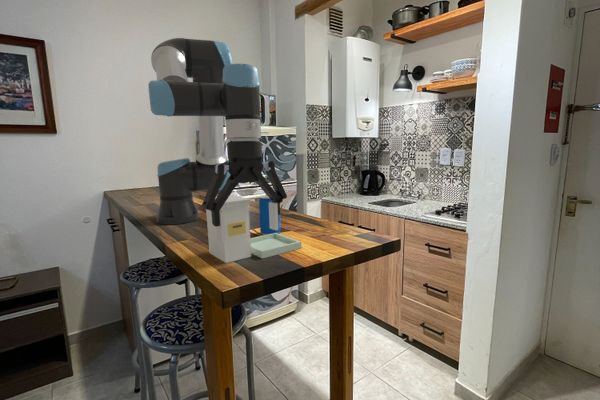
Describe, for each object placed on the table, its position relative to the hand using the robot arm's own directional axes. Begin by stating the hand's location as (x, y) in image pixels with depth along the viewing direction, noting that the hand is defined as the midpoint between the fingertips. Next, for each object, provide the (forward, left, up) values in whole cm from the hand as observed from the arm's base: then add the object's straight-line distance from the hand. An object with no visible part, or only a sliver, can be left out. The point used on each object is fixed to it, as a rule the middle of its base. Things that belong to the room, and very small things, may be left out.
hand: (249, 234), depth 75 cm
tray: (-9, +11, -8) cm, 16 cm away
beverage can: (-21, +19, -8) cm, 29 cm away
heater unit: (-11, 0, -8) cm, 13 cm away
